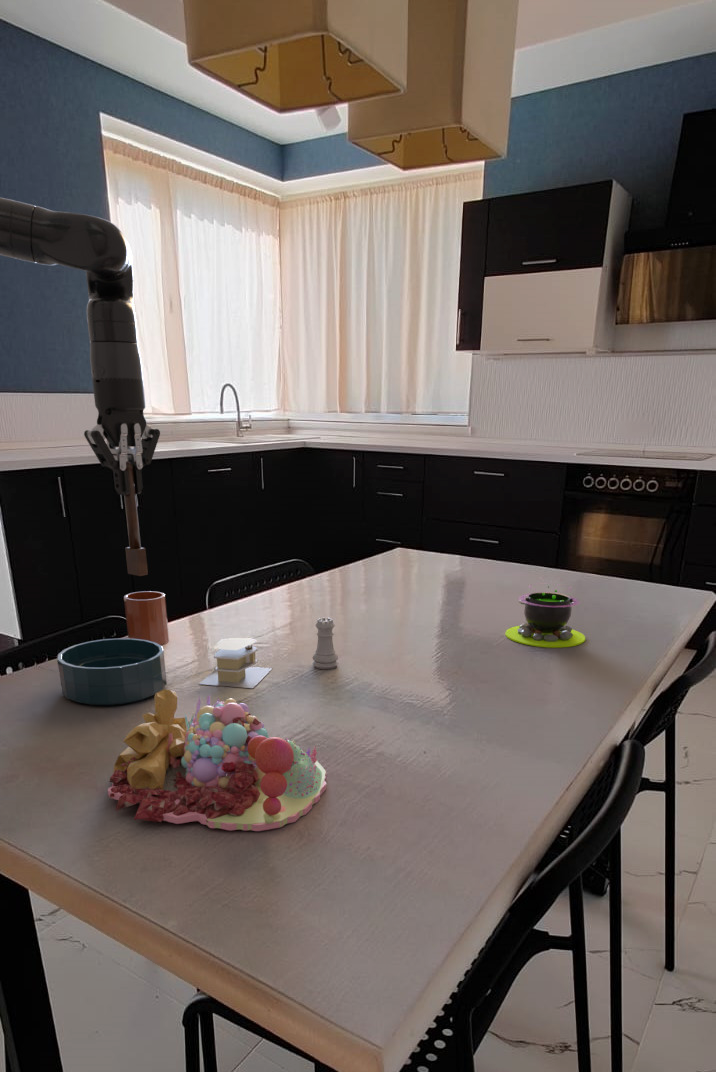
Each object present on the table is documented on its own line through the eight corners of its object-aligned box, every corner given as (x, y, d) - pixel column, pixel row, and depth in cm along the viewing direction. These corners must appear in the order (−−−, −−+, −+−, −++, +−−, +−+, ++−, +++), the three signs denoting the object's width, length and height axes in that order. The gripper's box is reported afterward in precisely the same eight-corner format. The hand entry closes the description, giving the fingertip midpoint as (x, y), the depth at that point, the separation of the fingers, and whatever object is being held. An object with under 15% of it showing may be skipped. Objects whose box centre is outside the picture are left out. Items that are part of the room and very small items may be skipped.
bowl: (42, 693, 116) (36, 655, 114) (124, 668, 128) (120, 633, 125) (105, 716, 108) (100, 675, 106) (187, 687, 119) (184, 650, 117)
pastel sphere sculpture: (77, 828, 80) (65, 747, 76) (146, 737, 101) (138, 670, 98) (317, 836, 79) (316, 754, 75) (335, 742, 100) (334, 675, 97)
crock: (121, 645, 139) (115, 596, 136) (152, 636, 145) (147, 589, 141) (146, 652, 136) (141, 602, 132) (177, 643, 141) (173, 594, 137)
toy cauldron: (575, 626, 154) (582, 571, 150) (594, 648, 140) (602, 588, 136) (500, 625, 155) (504, 570, 150) (511, 646, 141) (517, 587, 136)
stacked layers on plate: (253, 688, 119) (251, 654, 117) (198, 684, 121) (196, 650, 119) (272, 668, 128) (271, 636, 126) (221, 664, 130) (219, 633, 128)
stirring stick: (127, 573, 130) (115, 461, 123) (136, 572, 131) (124, 460, 124) (139, 576, 128) (128, 462, 121) (148, 574, 130) (137, 461, 123)
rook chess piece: (338, 670, 128) (338, 623, 125) (311, 670, 128) (310, 623, 124) (338, 661, 132) (338, 616, 129) (312, 661, 132) (311, 616, 129)
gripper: (137, 377, 125) (147, 489, 132) (63, 375, 115) (79, 496, 121) (168, 377, 121) (177, 492, 128) (95, 374, 111) (109, 499, 117)
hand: (129, 493), depth 125 cm, fingers closed on stirring stick, 2 cm apart
